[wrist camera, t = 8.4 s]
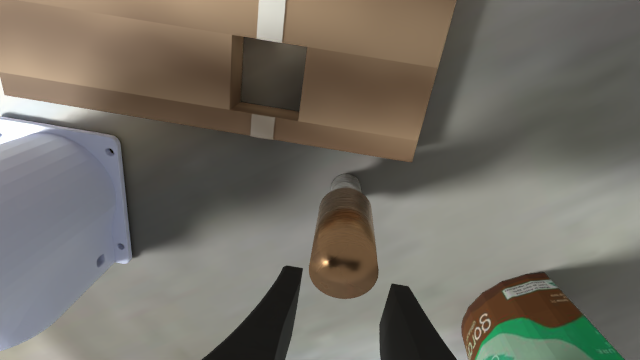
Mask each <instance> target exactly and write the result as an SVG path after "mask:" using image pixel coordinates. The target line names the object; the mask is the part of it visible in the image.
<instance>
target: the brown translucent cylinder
mask: <svg viewBox="0 0 640 360" xmlns="http://www.w3.org/2000/svg"><path fill="white" fill-rule="evenodd" d="M309 274H310V278H311V280H312V282H313V284H314V285H315V286H316V287H317V288H318V289H319V290H320V291H321V292H323V293H325V294H327V295H329V296H332V297H335V298H341V299H349V298H355V297H358V296H361V295H363V294H365V293H367V292H368V291H369V290H370V289H371V288H372V287H373V286H374V285H375V283H376V281H377V278H378V263H377V254H376V245H375V236H374V227H373V218H372V209H371V205H370V202H369V200H368V199H367V197H366V196H365V195H364V194H362V193H361V185H360V182H359V180H358V179H357V178H356V177H354V176H353V175H350V174H342V175H339V176H337V177H336V178H335V179H334V180H333V182H332V186H331V192H329V193H328V194H327V195H326V196H325V197H324V198H323V199H322V201H321V203H320V207H319V213H318V219H317V224H316V230H315V236H314V242H313V247H312V253H311V259H310V265H309Z"/></svg>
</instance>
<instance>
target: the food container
mask: <svg viewBox="0 0 640 360" xmlns="http://www.w3.org/2000/svg"><path fill="white" fill-rule="evenodd" d="M461 328H462V337H463V340H464V344H465V348H466V352H467V356H468V359H469V360H625V359H624V358H623V357H622V356H621V355H620V354H619V353H618V352H617V351H616V350H615V349H614V347H613V346H612V345H611V344H610V343H609V342H608V341H607V340H606V339H605V338H604V337H603V336H602V334H601V333H600V332H599V331H598V330H597V329H596V328H595V327H594V326H593V325H592V324H591V323H590V321H589V320H588V319H587V318H586V317H585V316H584V315H583V314H582V313H581V312H580V311H579V310H578V308H577V307H576V306H575V305H574V304H573V303H572V302H571V301H570V300H569V299H568V298H567V297H566V296H565V294H564V293H563V292H562V291H561V290H560V289H559V288H558V287H557V286H556V285H555V284H554V283H553V281H552V280H551V279H550V278H549V277H548V276H547V275H546V274H545V273H535V274H525V275H522V276H518V277H515V278H512V279H509V280H505V281H502V282H500V283H498V284H497V285H495V286H493V287H491V288H490V289H488V290H486V291H485V292H483V293H482V294H481V295H480V296H479V297H478V298H477V299H476V300H475V301H474V302H473V303H472V304H471V305H470V306H469V307H468V309H467V311H466V313H465V316H464V318H463V321H462V326H461Z"/></svg>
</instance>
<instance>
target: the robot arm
mask: <svg viewBox="0 0 640 360" xmlns="http://www.w3.org/2000/svg"><path fill="white" fill-rule="evenodd" d="M0 132H1V133H0V351H2V350H5V349H8V348H11V347H13V346H16V345H18V344H20V343H23V342H25V341H27V340H29V339H31V338H32V337H34V336H36V335H38V334H39V333H41V332H42V331H44V330H45V329H47V328H48V327H49V326H51V325H52V324H53V323H54V322H55V321H56V320H57V319H58V318H59V317H60V316H61V315H62V314H63V313H64V312H65V311H66V310H67V309H68V308H69V307H70V306H71V305H72V304H73V303H74V302H75V301H76V300H77V299H78V298H79V297H80V296H81V295H82V294H83V293H84V292H85V291H86V290H87V289H88V288H89V287H90V286H91V285H92V284H93V283H94V282H95V281H96V280H97V279H98V278H99V277H100V276H101V275H102V274H103V273H104V272H105V271H106V270H107V269H108V268H109V267H110V266H111V265H112V264H113V263H114V262H117V263H123V264H126V263H128V262H129V261H130V260H131V259H132V251H131V241H130V232H129V222H128V212H127V203H126V193H125V183H124V174H123V164H122V154H121V145H120V141H119V140H118V138H117V137H115V136H113V135H109V134H103V133H97V132H91V131H85V130H79V129H73V128H67V127H61V126H55V125H49V124H43V123H37V122H31V121H25V120H19V119H13V118H7V117H1V116H0ZM110 149H112V150H113V152H114V154H113V153H111V152H110ZM121 244H123V245H124V246H122V245H121ZM302 271H303V268H298V267H292V266H285V267H283V269H282V271H281V273H280V275H279V276H278V278H277V280H276V281H275V283H274V284H273V285H272V287H271V288H270V290H269V291H268V292H267V294H266V295H265V296H264V298H263V299H262V300H261V302H260V303H259V304H258V305H257V306H256V308H255V309H254V310H253V311H252V312H251V313H250V314H249V316H248V317H247V318H246V319H245V320H244V321H243V322H242V323H241V324H240V325H239V326H238V327H237V328H236V329H235V330H234V331H233V332H232V333H231V334H230V335H229V336H228V337H227V338H226V339H225V340H224V341H223V342H222V343H221V344H220V345H218V346H217V347H216V348H215V349H214V350H213V351H211V352H210V353H209V354H208V355H207V356H206V357H204V358H203V359H202V360H285V358H286V354H287V351H288V347H289V344H290V340H291V336H292V331H293V326H294V320H295V315H296V309H297V303H298V296H299V290H300V283H301V277H302ZM380 356H381V360H457V359H456V358H455V356H454V355H453V354H452V352H451V351H450V350H449V348H448V347H447V346H446V344H445V343H444V341H443V340H442V339H441V337H440V336H439V334H438V333H437V331H436V330H435V328H434V327H433V325H432V324H431V322H430V320H429V319H428V317H427V316H426V314H425V313H424V311H423V309H422V308H421V306H420V304H419V303H418V301H417V299H416V298H415V296H414V295H413V293H412V291H411V290H410V288H409V287H408V286H403V285H397V284H391V288H390V291H389V294H388V298H387V301H386V304H385V308H384V311H383V315H382V318H381V321H380Z"/></svg>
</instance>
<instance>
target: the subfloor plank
mask: <svg viewBox="0 0 640 360" xmlns="http://www.w3.org/2000/svg"><path fill="white" fill-rule="evenodd" d="M456 1H457V0H0V77H1V82H2V86H3V90H4V94H5V95H8V96H14V97H20V98H26V99H32V100H38V101H44V102H50V103H56V104H62V105H68V106H74V107H80V108H86V109H92V110H98V111H104V112H110V113H116V114H122V115H128V116H134V117H140V118H146V119H153V120H159V121H165V122H171V123H177V124H183V125H189V126H195V127H201V128H207V129H213V130H219V131H225V132H231V133H237V134H243V135H249V136H251V137H257V138H263V139H269V140H279V141H285V142H291V143H297V144H303V145H309V146H316V147H322V148H328V149H334V150H340V151H346V152H352V153H358V154H364V155H370V156H376V157H382V158H388V159H394V160H400V161H406V162H412V160H413V157H414V153H415V149H416V146H417V142H418V139H419V135H420V131H421V128H422V124H423V120H424V117H425V113H426V110H427V106H428V102H429V99H430V95H431V92H432V88H433V84H434V81H435V77H436V73H437V70H438V66H439V63H440V59H441V55H442V52H443V48H444V45H445V41H446V37H447V34H448V30H449V26H450V23H451V19H452V16H453V12H454V8H455V5H456ZM244 37H249V38H255V39H260V40H266V41H273V42H279V43H286V44H292V45H298V46H305V47H307V53H306V61H305V69H304V77H303V86H302V94H301V102H300V111H292V110H286V109H280V108H274V107H268V106H262V105H256V104H250V103H244V102H241V85H242V64H243V44H244Z"/></svg>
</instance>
